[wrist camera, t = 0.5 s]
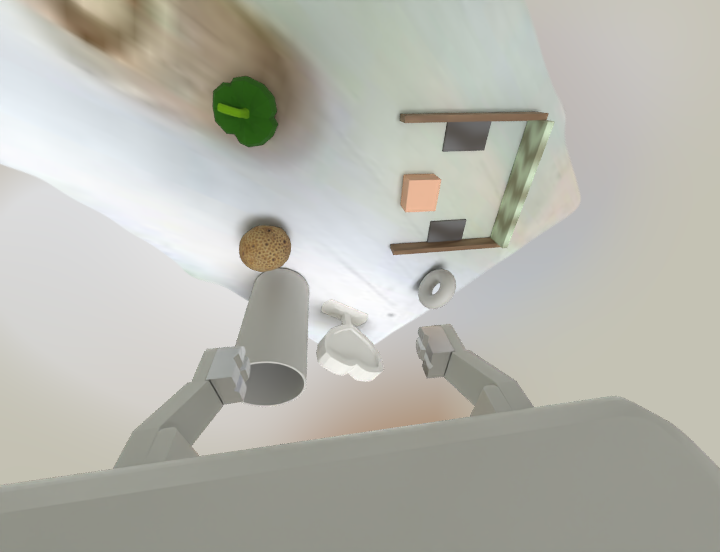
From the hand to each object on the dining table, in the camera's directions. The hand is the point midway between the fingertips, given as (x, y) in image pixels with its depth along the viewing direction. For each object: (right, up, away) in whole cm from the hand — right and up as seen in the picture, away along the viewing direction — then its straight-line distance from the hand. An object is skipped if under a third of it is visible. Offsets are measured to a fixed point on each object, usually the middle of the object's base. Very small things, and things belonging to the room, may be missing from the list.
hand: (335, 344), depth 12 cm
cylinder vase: (-17, 0, +50) cm, 53 cm away
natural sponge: (-17, +12, +42) cm, 47 cm away
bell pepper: (-15, +30, +29) cm, 44 cm away
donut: (+18, +3, +54) cm, 57 cm away
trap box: (+20, +21, +41) cm, 50 cm away
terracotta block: (+12, +20, +40) cm, 47 cm away
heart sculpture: (-3, -7, +58) cm, 58 cm away
